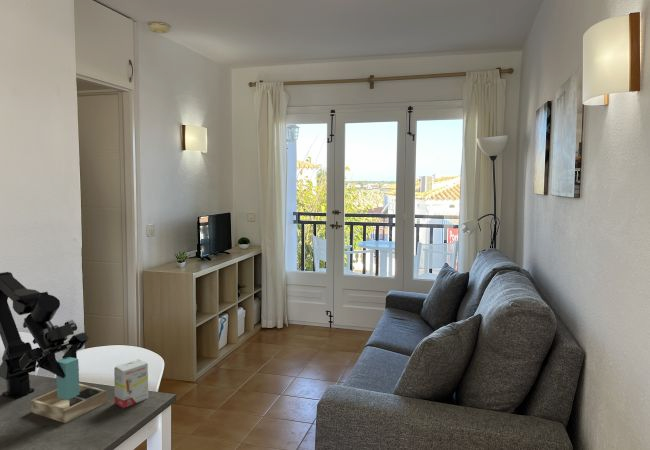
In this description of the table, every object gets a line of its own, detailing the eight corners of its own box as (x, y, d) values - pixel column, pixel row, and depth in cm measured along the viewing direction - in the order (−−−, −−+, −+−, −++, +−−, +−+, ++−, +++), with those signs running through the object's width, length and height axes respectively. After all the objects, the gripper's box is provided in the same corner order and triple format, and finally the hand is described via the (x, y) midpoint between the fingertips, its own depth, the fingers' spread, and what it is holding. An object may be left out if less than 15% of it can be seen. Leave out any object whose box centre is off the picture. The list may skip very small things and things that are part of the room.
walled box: (31, 413, 142) (30, 400, 141) (74, 394, 154) (73, 381, 154) (65, 424, 136) (64, 410, 135) (106, 403, 149) (106, 390, 148)
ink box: (123, 409, 145) (122, 371, 144) (114, 405, 148) (113, 366, 147) (149, 399, 152) (148, 362, 150) (140, 395, 155) (139, 358, 153)
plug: (57, 397, 139) (55, 361, 138) (69, 391, 143) (68, 356, 142) (67, 400, 138) (65, 363, 136) (79, 394, 141) (78, 358, 140)
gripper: (23, 322, 131) (53, 370, 128) (83, 305, 148) (112, 347, 144) (5, 346, 135) (34, 393, 132) (66, 327, 152) (93, 368, 149)
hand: (71, 374), depth 139 cm, fingers closed on plug, 4 cm apart
